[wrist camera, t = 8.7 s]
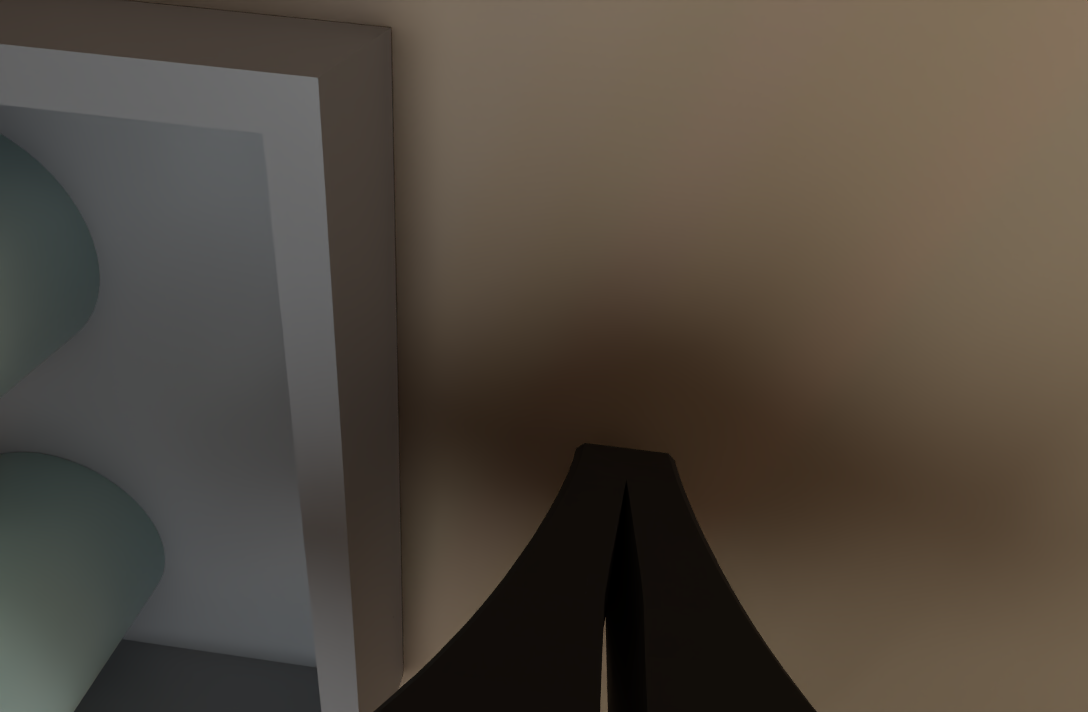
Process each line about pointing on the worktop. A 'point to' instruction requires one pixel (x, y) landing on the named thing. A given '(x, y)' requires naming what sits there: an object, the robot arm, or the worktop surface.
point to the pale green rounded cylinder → (66, 578)
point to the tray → (227, 338)
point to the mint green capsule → (39, 265)
